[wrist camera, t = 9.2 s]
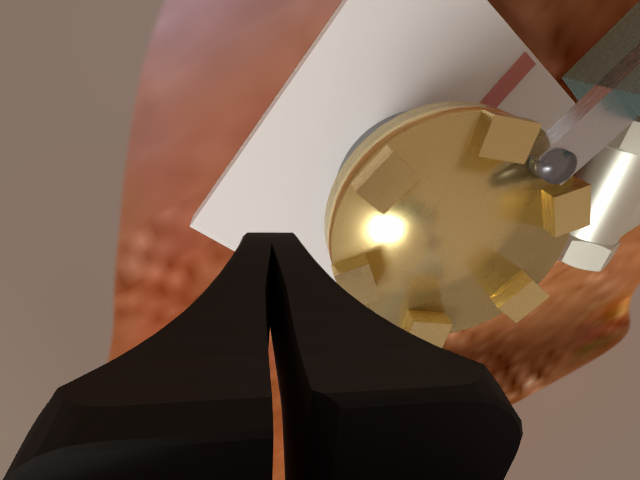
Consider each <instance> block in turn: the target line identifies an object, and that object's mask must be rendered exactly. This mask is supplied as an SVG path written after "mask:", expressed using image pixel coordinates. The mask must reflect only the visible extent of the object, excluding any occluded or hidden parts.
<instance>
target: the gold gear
mask: <svg viewBox="0 0 640 480" xmlns="http://www.w3.org/2000/svg"><path fill="white" fill-rule="evenodd" d="M561 78H562V79H563V80H564V82H565V83H566V85H567V86H568V87H569V89H570V90H571V92H572V93H573V94H574V96H575V97H576V99H577V100H578V102H577V103H576V104H575V105H574V106H573V107H572V108H570V109H569V110H568V111H567V112H566V113H565V114H564V115H563V116H562V117H561V118H560V119H559V120H558V121H557V122H556V123H555V124H554V125H553V126H551V127H550V128H549V129H548V130H547V131H546V132H545V131H544V130H542V129H541V126H542V124H541V123H539V122H536V121H534V120H531V119H529V118H524V117H519V116H515V115H512V114H510V113H508V112H505V111H503V110H500V109H498V108H495V107H493V106H489V105H486V104H482V103H479V102H471V101H443V102H437V103H431V104H427V105H424V106H421V107H417V108H414V109H412V110H409V111H407V112H405V113H403V114H400V115H398V116H396V117H395V118H393V119H391V120H390V121H388V122H386V123H385V124H383V125H382V126H380V127H379V128H378V129H376V130H375V131H374V132H373V133H371V134H370V135H369V136H368V137H367V138H366V139H365V140H364V141H363V142H362V143H361V144H360V145H359V146H358V147H357V148H356V149H355V150H354V151H353V153H352V154H351V155H350V156H349V158H348V159H347V160H346V161H345V163H344V165H343V166H342V168H341V170H340V171H339V173H338V175H337V177H336V179H335V181H334V183H333V186H332V188H331V190H330V194H329V197H328V201H327V204H326V211H325V217H324V233H325V240H326V246H327V249H328V253H329V256H330V259H331V263H332V265H331V268H332V271H333V275H334V278H335V280H336V282H337V283H338V284H339V285H340V286H341V287H342V288H343V289H344V290H345V291H347V292H348V293H349V294H350V295H352V296H353V297H354V298H356V299H357V300H358V301H360V302H361V303H362V304H364V305H365V306H366V307H368V308H369V309H371V310H372V311H374V312H375V313H376V314H378V315H380V316H381V317H383V318H385V319H386V320H388V321H390V322H391V323H393V324H394V325H396V326H398V327H400V328H402V329H403V330H405V331H407V332H409V333H411V334H413V335H415V336H417V337H419V338H421V339H423V340H425V341H427V342H429V343H431V344H433V345H436V346H438V347H440V348H442V347H443V345H444V343H445V341H446V338H447V336H448V334H449V333H452V332H458V331H461V330H464V329H468V328H471V327H474V326H476V325H479V324H481V323H484V322H486V321H488V320H490V319H492V318H494V317H496V316H498V315H500V314H501V313H504V314H506V315H507V316H508V317H509V318H511V319H512V320H513V321H514V322H515V323H517V322H519V321H520V320H521V319H522V318H524V317H525V316H526V315H527V314H529V313H530V312H531V311H532V310H534V309H535V308H536V307H537V306H539V305H540V304H541V303H542V302H544V301H545V300H546V299H547V298H549V297H550V296H549V295H548V294H547V293H546V292H545V291H544V290H543V289H542V288H541V287H540V286H539V285H538V284H539V283H540V281H541V280H542V279H543V278H544V277H545V276H546V274H547V273H548V272H549V271H550V269H551V268H552V267H553V265H554V264H555V262H556V260H557V259H558V257H559V256H560V254H561V252H562V250H563V248H564V246H565V244H566V242H567V240H568V237H569V234H570V232H572V231H575V230H578V229H581V228H584V227H587V226H589V225H590V216H591V184H589V183H587V182H585V181H583V180H581V179H579V178H577V177H575V178H574V174H575V173H576V172H577V171H578V170H579V169H580V168H581V167H583V166H584V165H585V164H586V163H587V162H588V161H589V160H590V159H592V158H593V157H594V156H595V155H596V154H597V153H598V152H599V151H601V150H602V149H603V148H604V147H605V146H606V145H607V144H608V143H610V142H611V141H612V140H613V139H614V138H615V137H616V136H617V135H619V134H620V133H621V132H622V131H623V130H624V129H625V128H626V127H628V126H629V125H630V124H631V123H632V122H633V121H636V122H640V1H639V2H638V3H637V4H636V5H635V6H634V7H633V8H632V9H631V10H629V11H628V12H627V13H626V14H625V15H624V16H623V17H622V18H621V19H620V20H619V21H618V22H617V23H616V24H615V25H614V26H613V27H612V28H611V29H610V30H609V31H608V32H607V33H606V34H605V35H604V36H603V37H602V38H601V39H600V40H599V41H598V42H597V43H596V44H595V45H594V46H593V47H592V48H591V49H590V50H589V51H588V52H587V53H586V54H585V55H584V56H583V57H582V58H581V59H580V60H579V61H578V62H577V63H575V64H574V65H573V66H572V67H571V68H570V69H569V70H568V71H567V72H566V73H565V74H564V75H563V76H562V77H561Z"/></svg>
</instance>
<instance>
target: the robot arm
mask: <svg viewBox="0 0 640 480" xmlns="http://www.w3.org/2000/svg"><path fill="white" fill-rule="evenodd" d="M270 329H271V336H272V343H273V350H274V357H275V363H276V370H277V377H278V383H279V390H280V397H281V407H282V420H283V441H284V463H285V480H504V478H505V476H506V474H507V472H508V470H509V468H510V466H511V463H512V462H513V460H514V457H515V455H516V453H517V451H518V448H519V445H520V440H521V438H522V435H523V432H522V423H521V419H520V418H519V416H518V415H517V413H516V412H515V410H514V408H513V407H512V405H511V403H510V402H509V400H508V398H507V397H506V395H505V394H504V392H503V390H502V389H501V387H500V386H499V384H498V383H497V381H496V380H495V379H494V377H493V376H492V375H491V373H490V372H489V371H488V369H487V368H486V367H485V365H483V364H481V363H478V362H476V361H473V360H470V359H468V358H465V357H463V356H460V355H458V354H455V353H453V352H450V351H448V350H445V349H443V348H440V347H438V346H436V345H433V344H431V343H429V342H427V341H425V340H423V339H421V338H419V337H417V336H415V335H413V334H411V333H409V332H407V331H405V330H403V329H402V328H400V327H398V326H396V325H394V324H393V323H391V322H390V321H388V320H386V319H385V318H383V317H381V316H380V315H378V314H376V313H375V312H374V311H372V310H371V309H369V308H368V307H366V306H365V305H364V304H362V303H361V302H360V301H358V300H357V299H356V298H354V297H353V296H352V295H350V294H349V293H348V292H347V291H345V290H344V289H343V288H342V287H341V286H340V285H339V284H338V283H337V282H335V281H334V280H333V279H332V278H331V277H330V276H329V275H328V274H327V273H326V271H325V270H324V269H323V268H322V267H321V266H320V265H319V264H318V263H317V262H316V260H315V259H314V258H313V257H312V256H311V254H310V253H309V252H308V251H307V249H306V248H305V247H304V246H303V244H302V243H301V242H300V240H299V239H298V237H297V236H296V235H295V234H294V233H279V232H247V233H246V234H245V235H244V236H243V237H242V240H241V242H240V244H239V246H238V247H237V249H236V251H235V252H234V254H233V256H232V257H231V259H230V260H229V261H228V263H227V264H226V266H225V267H224V268H223V270H222V271H221V272H220V274H219V275H218V276H217V277H216V278H215V280H214V281H213V282H212V283H211V284H210V285H209V287H208V288H207V289H206V290H205V291H204V292H203V293H202V294H201V295H200V296H199V297H198V298H197V299H196V300H195V301H194V302H193V303H192V304H191V305H190V306H189V307H188V308H187V309H186V310H185V311H184V312H183V313H181V314H180V315H179V316H178V317H176V318H175V319H174V320H173V321H171V322H170V323H169V324H168V325H166V326H165V327H164V328H162V329H161V330H160V331H158V332H157V333H156V334H154V335H153V336H151V337H150V338H148V339H147V340H145V341H144V342H142V343H141V344H139V345H137V346H136V347H134V348H132V349H131V350H129V351H127V352H126V353H124V354H123V355H121V356H119V357H117V358H116V359H114V360H112V361H110V362H109V363H107V364H105V365H103V366H101V367H99V368H97V369H95V370H93V371H91V372H89V373H87V374H85V375H83V376H81V377H79V378H77V379H75V380H74V381H71V382H69V383H67V384H65V385H63V386H61V387H59V388H58V389H57V390H56V391H55V393H54V395H53V396H52V398H51V399H50V401H49V402H48V403H47V405H46V406H45V408H44V409H43V410H42V412H41V413H40V415H39V416H38V418H37V419H36V421H35V423H34V424H33V426H32V427H31V429H30V431H29V432H28V434H27V436H26V438H25V440H24V442H23V443H22V445H21V447H20V449H19V451H18V453H17V454H16V456H15V458H14V460H13V462H12V464H11V466H10V467H9V469H8V471H7V473H6V475H5V477H4V479H3V480H272V469H273V409H272V391H271V380H270V368H269V355H268V346H269V333H270Z"/></svg>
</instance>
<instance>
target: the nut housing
mask: <svg viewBox="0 0 640 480" xmlns="http://www.w3.org/2000/svg"><path fill="white" fill-rule="evenodd" d="M443 101H471V102H479V103H482V104H486V105H489V106H493V107H495V108H498V109H500V110H503V111H505V112H508V113H510V114H512V115H515V116H519V117H524V118H529V119H531V120H534V121H536V122H539V123H541V124H542V126H541V129H542V130H544V131H545V132H546V131H547V130H548V129H549V128H550V127H551V126H553V125H554V124H555V123H556V122H557V121H558V120H559V119H560V118H561V117H562V116H563V115H564V114H565V113H566V112H567V111H568V110H569V109H570V108H572V107H573V106H574V105H575V104H576V103H575V102H574V101H573V100H572V99H571V98H570V96H569V95H568V94H567V93H566V92H565V91H564V89H563V88H562V87H561V86H560V85H559V84H558V82H557V81H556V80H555V79H554V78H553V77H552V75H551V74H550V73H549V72H548V71H547V70H546V68H545V67H544V66H543V65H542V64H541V63H540V61H539V60H538V59H537V58H536V57H535V55H534V54H533V53H532V52H531V51H530V50H529V48H528V47H527V46H526V45H525V44H524V43H523V41H522V40H521V39H520V38H519V37H518V36H517V34H516V33H515V32H514V31H513V30H512V29H511V27H510V26H509V25H508V24H507V23H506V22H505V20H504V19H503V18H502V17H501V16H500V15H499V13H498V12H497V11H496V10H495V9H494V8H493V6H492V5H491V4H490V3H489V2H488V0H343V1H342V2H341V3H340V5H339V6H338V8H337V9H336V11H335V12H334V13H333V15H332V16H331V18H330V19H329V21H328V22H327V24H326V25H325V26H324V28H323V29H322V31H321V32H320V34H319V35H318V37H317V38H316V39H315V41H314V42H313V44H312V45H311V47H310V48H309V50H308V51H307V52H306V54H305V55H304V57H303V58H302V60H301V61H300V62H299V64H298V65H297V67H296V68H295V70H294V71H293V73H292V74H291V75H290V77H289V78H288V80H287V81H286V83H285V84H284V86H283V87H282V88H281V90H280V91H279V93H278V94H277V96H276V97H275V99H274V100H273V101H272V103H271V104H270V106H269V107H268V109H267V110H266V112H265V113H264V114H263V116H262V117H261V119H260V120H259V122H258V123H257V124H256V126H255V127H254V129H253V130H252V132H251V133H250V135H249V136H248V137H247V139H246V140H245V142H244V143H243V145H242V146H241V148H240V149H239V150H238V152H237V153H236V155H235V156H234V158H233V159H232V161H231V162H230V163H229V165H228V166H227V168H226V169H225V171H224V172H223V173H222V175H221V176H220V178H219V179H218V181H217V182H216V184H215V185H214V186H213V188H212V189H211V191H210V192H209V194H208V195H207V197H206V198H205V199H204V201H203V202H202V204H201V205H200V207H199V208H198V210H197V211H196V212H195V214H194V215H193V218H192V221H191V224H190V227H192V228H194V229H195V230H197V231H199V232H201V233H203V234H204V235H206V236H208V237H210V238H212V239H213V240H215V241H217V242H219V243H221V244H222V245H224V246H226V247H228V248H230V249H232V250H233V251H236V249H237V247H238V246H239V244H240V242H241V240H242V237H243V236H244V235H245V234H246V233H247V232H279V233H294V234H295V235H296V236H297V237H298V239H299V240H300V242H301V243H302V244H303V246H304V247H305V248H306V249H307V251H308V252H309V253H310V254H311V256H312V257H313V258H314V259H315V260H316V262H317V263H318V264H319V265H320V266H321V267H322V268H323V269H324V270H325V271H326V273H327V274H328V275H329V276H330V277H331V278H332V279H333V280H334V281H335V282H336V280H335V278H334V275H333V271H332V268H331V265H332V263H331V259H330V256H329V253H328V249H327V246H326V240H325V233H324V217H325V211H326V204H327V201H328V197H329V194H330V190H331V188H332V186H333V183H334V181H335V179H336V177H337V175H338V173H339V171H340V170H341V168H342V166H343V165H344V163H345V161H346V160H347V159H348V158H349V156H350V155H351V154H352V153H353V151H354V150H355V149H356V148H357V147H358V146H359V145H360V144H361V143H362V142H363V141H364V140H365V139H366V138H367V137H368V136H369V135H370V134H371V133H373V132H374V131H375V130H376V129H378V128H379V127H380V126H382V125H383V124H385V123H386V122H388V121H390V120H391V119H393V118H395V117H396V116H398V115H400V114H403V113H405V112H407V111H409V110H412V109H414V108H417V107H421V106H424V105H427V104H431V103H437V102H443Z"/></svg>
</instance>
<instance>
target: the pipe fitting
mask: <svg viewBox="0 0 640 480" xmlns="http://www.w3.org/2000/svg"><path fill="white" fill-rule="evenodd" d="M575 177H577V178H579V179H581V180H583V181H585V182H587V183H589V184H591V216H590V225H589V226H587V227H584V228H581V229H578V230H575V231H572V232H570V234H569V237H568V240H567V242H566V244H565V246H564V248H563V250H562V252H561V254H560V256H559V257H558V259H557V260H558V261H560V262H563V263H565V264H567V265H570V266H573V267H576V268H579V269H583V270H589V271H601V270H603V269H604V268H605V267H606V266H607V265H608V263H609V262H610V260H611V259H612V257H613V255H614V253H615V252H616V250H617V248H618V246H619V245H620V243H621V242H620V241H619V239H620V237H621V236H623V235H624V234H626V233H627V232H629V231H630V230H632V229H633V228H635V227H636V226H638V225H639V224H640V122H636V121H633V122H632V123H631V124H630V125H629V126H628V127H626V128H625V129H624V130H623V131H622V132H621V133H620V134H619V135H617V136H616V137H615V138H614V139H613V140H612V141H611V142H610V143H608V144H607V145H606V146H605V147H604V148H603V149H602V150H601V151H599V152H598V153H597V154H596V155H595V156H594V157H593V158H592V159H590V160H589V161H588V162H587V163H586V164H585V165H584V166H583V167H581V168H580V169H579V170H578V171H577V172H576V174H575V176H574V178H575Z"/></svg>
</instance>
